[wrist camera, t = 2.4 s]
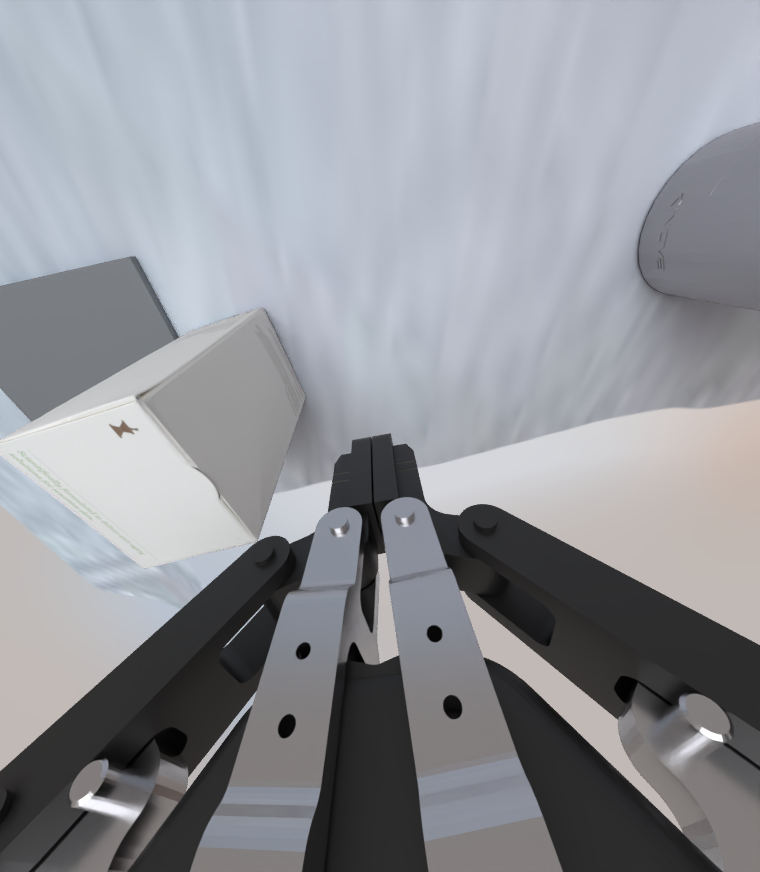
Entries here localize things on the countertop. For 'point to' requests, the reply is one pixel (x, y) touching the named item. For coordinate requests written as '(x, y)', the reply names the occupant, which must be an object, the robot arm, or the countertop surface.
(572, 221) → the countertop surface
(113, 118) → the countertop surface
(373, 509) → the robot arm
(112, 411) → the skincare box
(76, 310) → the mat
